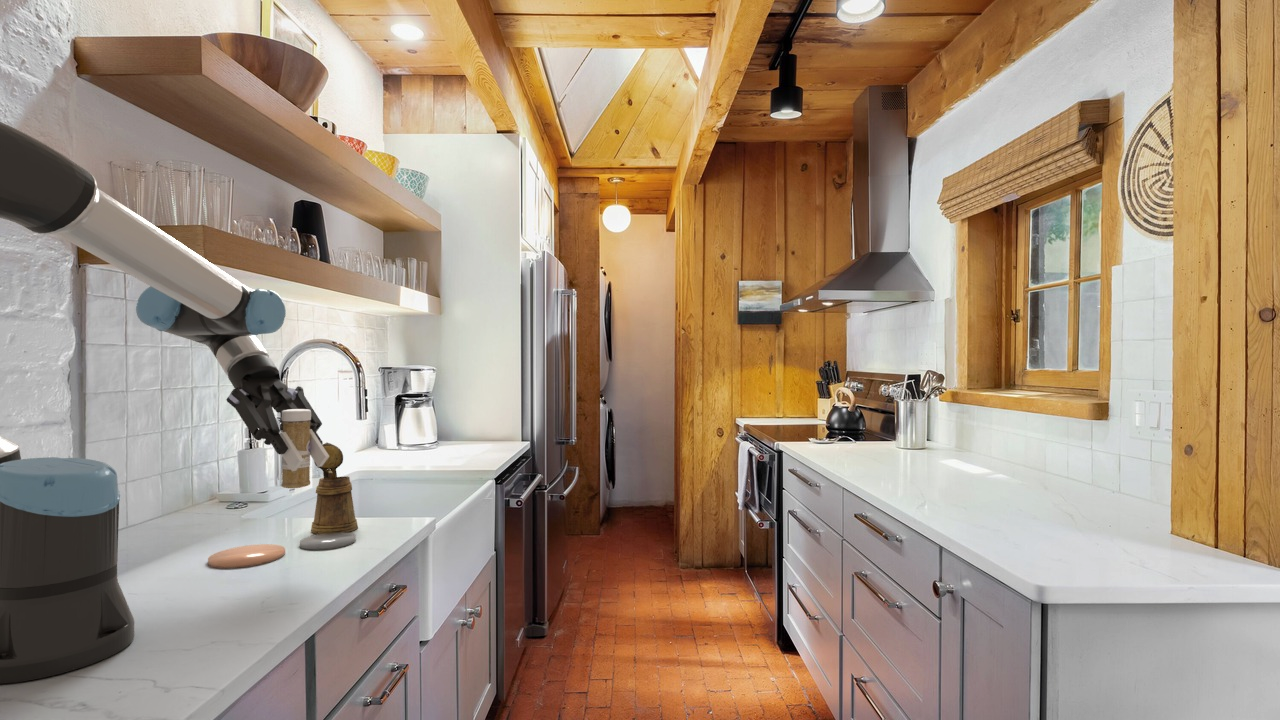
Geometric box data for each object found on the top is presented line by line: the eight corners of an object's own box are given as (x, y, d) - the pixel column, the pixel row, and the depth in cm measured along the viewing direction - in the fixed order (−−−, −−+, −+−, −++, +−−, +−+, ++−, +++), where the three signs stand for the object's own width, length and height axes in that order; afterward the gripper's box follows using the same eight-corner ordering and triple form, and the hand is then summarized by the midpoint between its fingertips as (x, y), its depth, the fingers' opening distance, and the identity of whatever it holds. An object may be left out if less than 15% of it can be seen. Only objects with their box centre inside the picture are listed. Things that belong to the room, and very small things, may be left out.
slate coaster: (309, 553, 118) (309, 549, 119) (292, 542, 126) (292, 538, 126) (363, 542, 126) (363, 538, 126) (344, 533, 133) (344, 529, 133)
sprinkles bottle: (311, 487, 110) (312, 410, 110) (281, 489, 107) (282, 410, 107) (309, 482, 114) (309, 408, 114) (280, 485, 111) (280, 409, 111)
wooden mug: (347, 518, 146) (348, 440, 146) (362, 531, 135) (362, 446, 135) (304, 524, 140) (305, 443, 141) (315, 537, 130) (316, 450, 130)
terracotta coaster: (216, 572, 107) (216, 568, 107) (201, 557, 116) (201, 553, 116) (293, 557, 116) (293, 553, 116) (274, 544, 124) (274, 540, 124)
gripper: (282, 379, 125) (342, 470, 118) (189, 382, 109) (251, 486, 102) (301, 353, 123) (363, 443, 116) (209, 351, 107) (274, 456, 100)
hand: (310, 463), depth 109 cm, fingers closed on sprinkles bottle, 4 cm apart
